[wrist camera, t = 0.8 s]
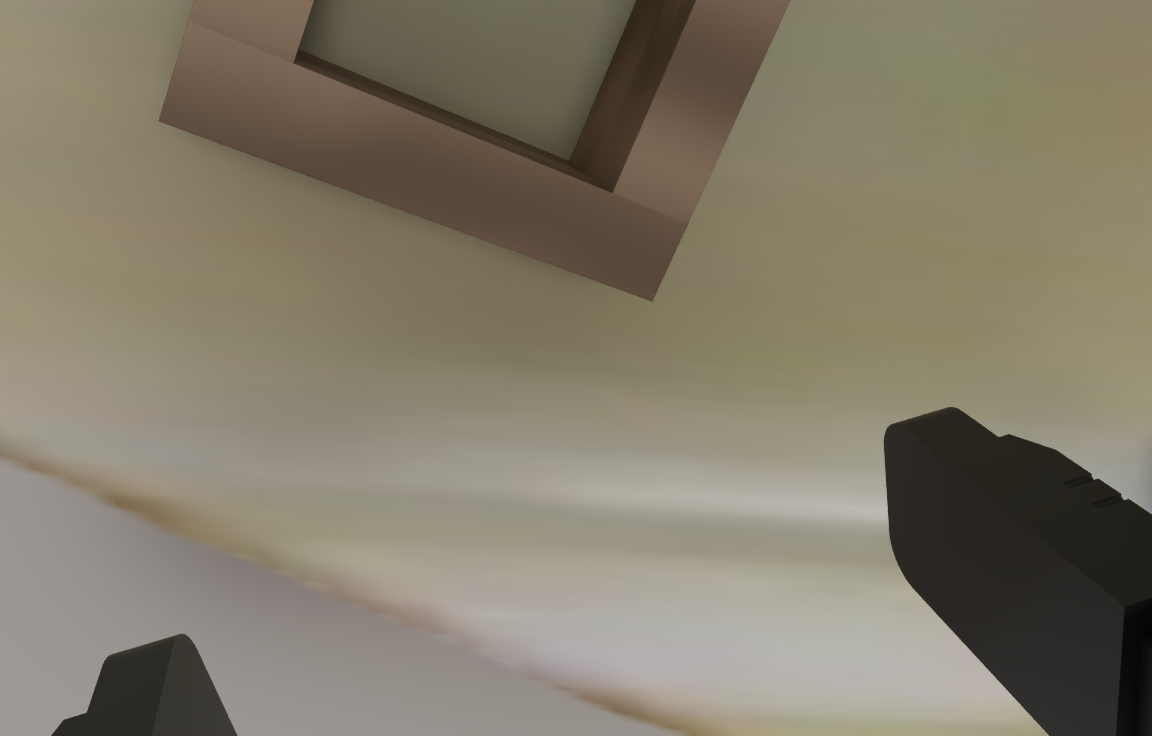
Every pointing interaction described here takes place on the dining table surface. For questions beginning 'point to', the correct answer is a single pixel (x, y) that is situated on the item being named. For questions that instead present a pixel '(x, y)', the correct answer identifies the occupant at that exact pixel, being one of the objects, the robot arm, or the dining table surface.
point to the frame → (491, 131)
